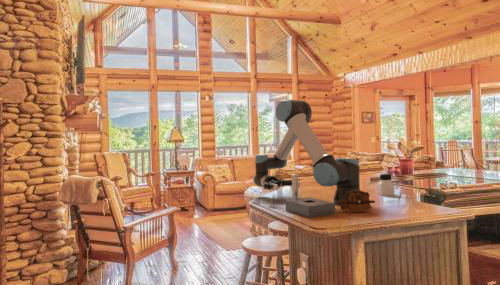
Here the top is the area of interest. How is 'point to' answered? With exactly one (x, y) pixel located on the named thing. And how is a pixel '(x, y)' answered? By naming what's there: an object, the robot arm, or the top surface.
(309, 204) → the pin block
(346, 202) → the wooden carving
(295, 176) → the pin
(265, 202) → the top surface
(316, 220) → the top surface
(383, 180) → the medicine bottle
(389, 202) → the top surface
